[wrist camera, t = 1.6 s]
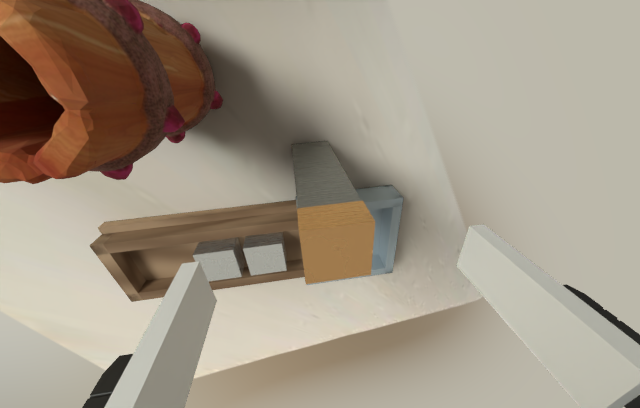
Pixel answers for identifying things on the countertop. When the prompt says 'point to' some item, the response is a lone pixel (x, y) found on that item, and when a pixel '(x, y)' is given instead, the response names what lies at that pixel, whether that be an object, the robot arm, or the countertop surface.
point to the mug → (95, 86)
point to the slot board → (191, 245)
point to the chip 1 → (220, 258)
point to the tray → (382, 225)
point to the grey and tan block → (330, 217)
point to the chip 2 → (265, 253)
